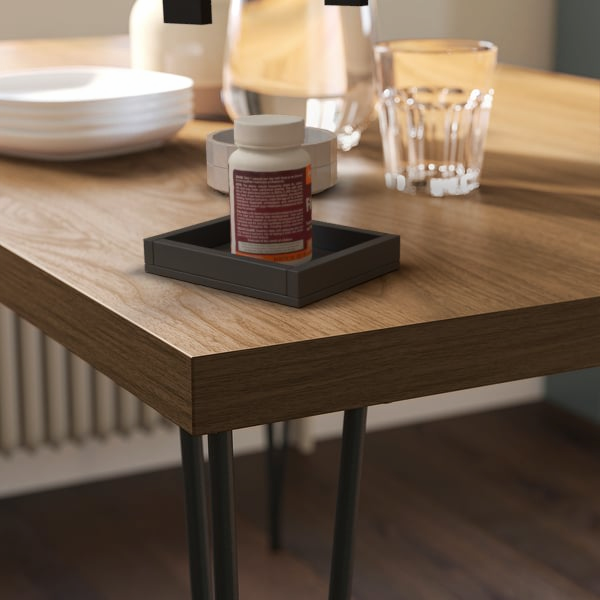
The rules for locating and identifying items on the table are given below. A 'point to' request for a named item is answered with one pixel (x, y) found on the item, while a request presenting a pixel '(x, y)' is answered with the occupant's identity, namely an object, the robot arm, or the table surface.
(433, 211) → the table surface
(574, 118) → the table surface
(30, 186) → the table surface
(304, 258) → the pill bottle
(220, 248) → the tray
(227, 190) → the gray bowl
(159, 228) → the table surface
